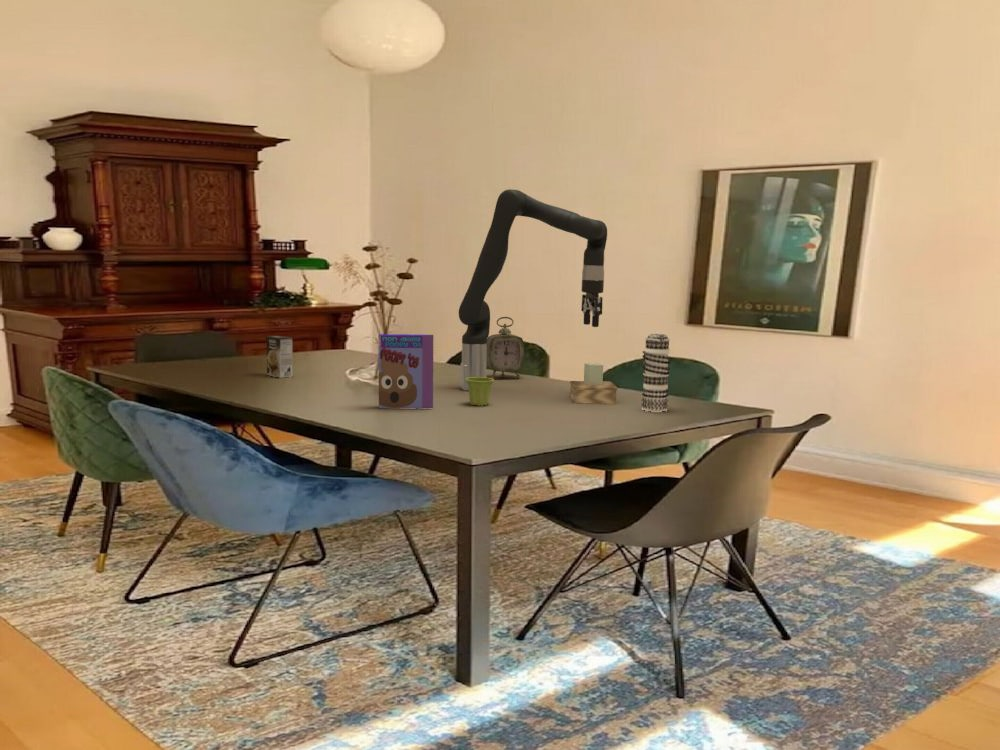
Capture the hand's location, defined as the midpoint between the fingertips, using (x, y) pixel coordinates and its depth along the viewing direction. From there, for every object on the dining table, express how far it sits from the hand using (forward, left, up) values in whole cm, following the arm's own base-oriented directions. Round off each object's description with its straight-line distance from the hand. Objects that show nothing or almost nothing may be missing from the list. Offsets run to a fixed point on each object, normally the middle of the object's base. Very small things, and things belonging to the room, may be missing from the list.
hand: (590, 325), depth 297 cm
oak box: (+1, -2, -26) cm, 26 cm away
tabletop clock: (-17, +53, -26) cm, 61 cm away
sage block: (+1, -1, -20) cm, 20 cm away
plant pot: (-40, -3, -26) cm, 48 cm away
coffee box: (-105, +70, -26) cm, 129 cm away
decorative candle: (+15, -22, -26) cm, 38 cm away
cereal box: (-65, -5, -26) cm, 70 cm away
